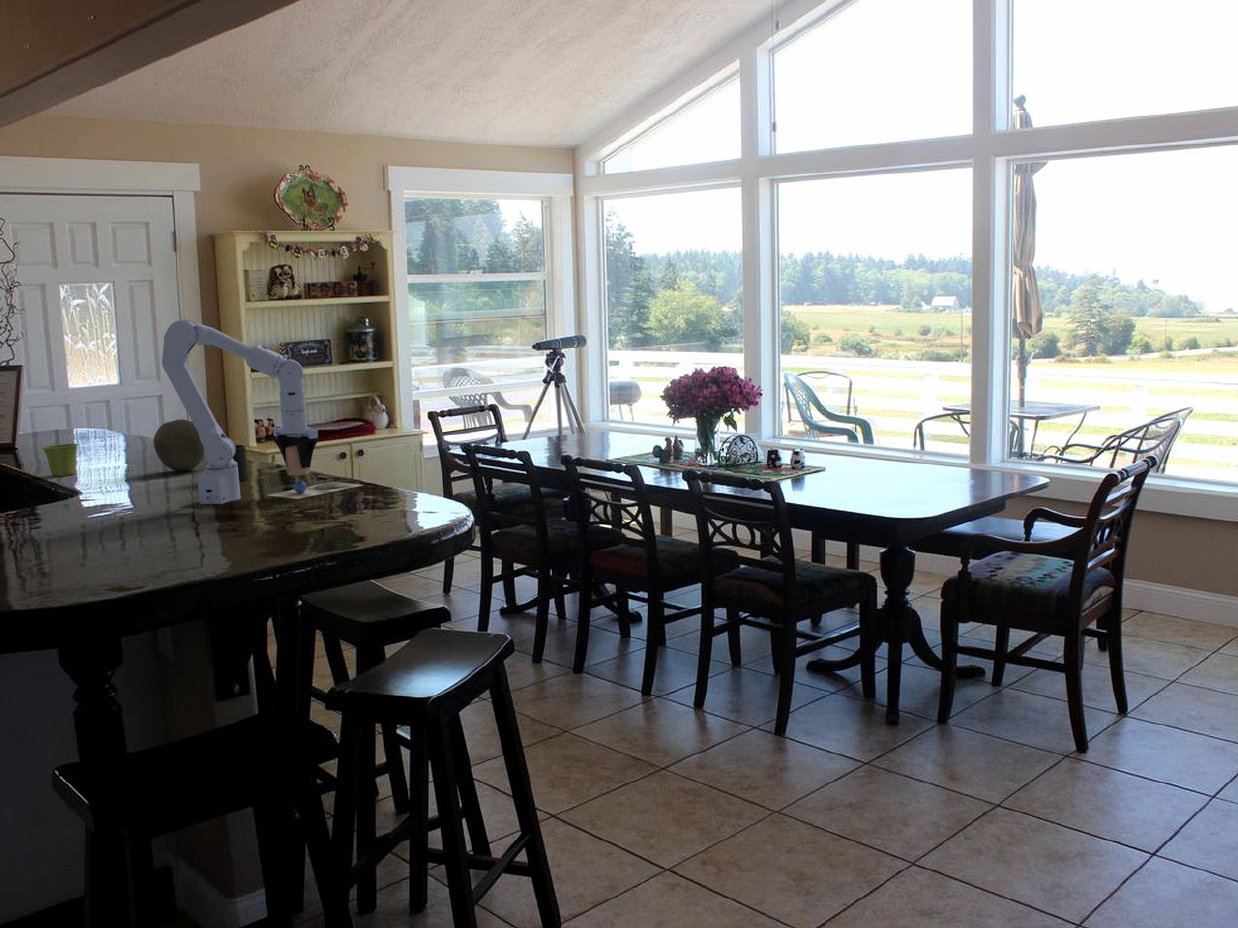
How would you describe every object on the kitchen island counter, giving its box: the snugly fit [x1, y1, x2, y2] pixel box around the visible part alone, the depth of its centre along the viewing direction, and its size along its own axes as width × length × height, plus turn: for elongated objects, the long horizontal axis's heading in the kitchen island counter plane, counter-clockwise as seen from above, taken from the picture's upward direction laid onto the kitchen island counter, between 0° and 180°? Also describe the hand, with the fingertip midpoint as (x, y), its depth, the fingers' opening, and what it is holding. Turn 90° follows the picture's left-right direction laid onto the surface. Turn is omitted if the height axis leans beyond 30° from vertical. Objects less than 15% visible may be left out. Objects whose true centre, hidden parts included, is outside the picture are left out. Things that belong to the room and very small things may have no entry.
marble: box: [293, 480, 308, 493], centre depth 282 cm, size 3×3×3 cm
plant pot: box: [41, 443, 79, 477], centre depth 339 cm, size 9×9×9 cm
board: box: [267, 481, 364, 500], centre depth 285 cm, size 20×12×1 cm, turn 142°
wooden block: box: [285, 446, 311, 476], centre depth 281 cm, size 5×5×6 cm
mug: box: [232, 444, 249, 483], centre depth 314 cm, size 9×12×9 cm
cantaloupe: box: [153, 418, 205, 472], centre depth 334 cm, size 14×14×15 cm
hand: (298, 466), depth 281 cm, fingers closed on wooden block, 5 cm apart
